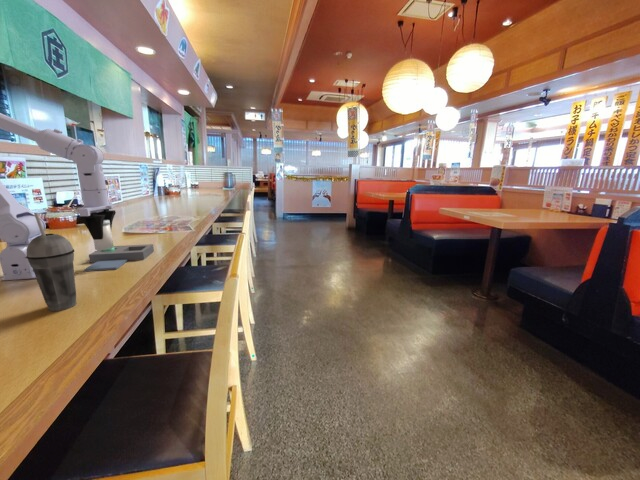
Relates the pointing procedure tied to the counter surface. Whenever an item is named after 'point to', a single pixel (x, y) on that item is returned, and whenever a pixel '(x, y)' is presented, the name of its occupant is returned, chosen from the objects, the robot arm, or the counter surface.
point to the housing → (123, 253)
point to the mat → (106, 265)
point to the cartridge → (105, 238)
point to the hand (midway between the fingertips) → (102, 237)
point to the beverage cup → (53, 268)
